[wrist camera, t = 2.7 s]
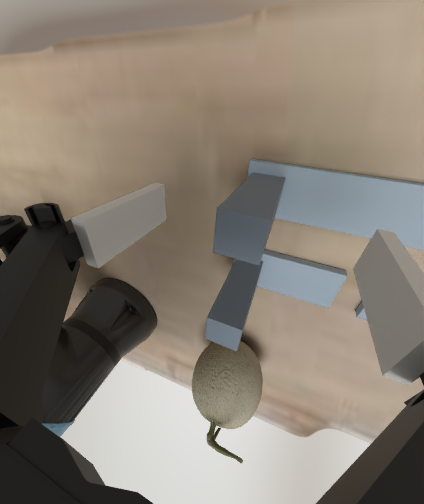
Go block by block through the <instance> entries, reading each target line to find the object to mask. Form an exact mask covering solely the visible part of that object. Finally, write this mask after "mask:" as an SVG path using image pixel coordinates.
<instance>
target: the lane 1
mask: <svg viewBox="0 0 424 504" xmlns="http://www.w3.org/2000/svg"><path fill="white" fill-rule="evenodd" d="M274 218H276V219H281V220H286V221H290V222H295V223H299V224H304V225H309V226H313V227H318V228H323V229H327V230H332V231H337V232H341V233H346V234H350V235H355V236H360V237H364V238H369V239H371V238H372V237H373V235H374V233H375V232H376V230H377V229H380V230H385V231H390V232H394V233H395V234H396V236H397V237H398V238H399V240H400V241H401V243H402V244H403V245H404V246H406V247H411V248H415V249H420V250H424V183H417V182H410V181H403V180H396V179H389V178H383V177H376V176H369V175H362V174H355V173H348V172H341V171H334V170H327V169H320V168H314V167H307V166H300V165H293V164H286V163H279V162H272V161H265V160H258V159H251V160H250V163H249V169H248V175H247V179H246V180H245V181H244V182H243V183H242V184H241V185H240V186H239V187H238V188H237V189H236V190H235V191H234V192H233V193H232V194H231V195H230V196H229V197H228V198H227V199H226V200H225V201H224V202H223V203H222V204H221V205H220V206H219V207H218V208H217V213H216V224H215V235H214V246H213V253H217V254H220V255H224V256H227V257H231V258H234V259H238V260H242V261H245V262H249V263H252V264H256V265H259V264H260V261H261V258H262V255H263V252H264V249H265V246H266V243H267V240H268V237H269V233H270V230H271V227H272V224H273V221H274Z"/></svg>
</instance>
